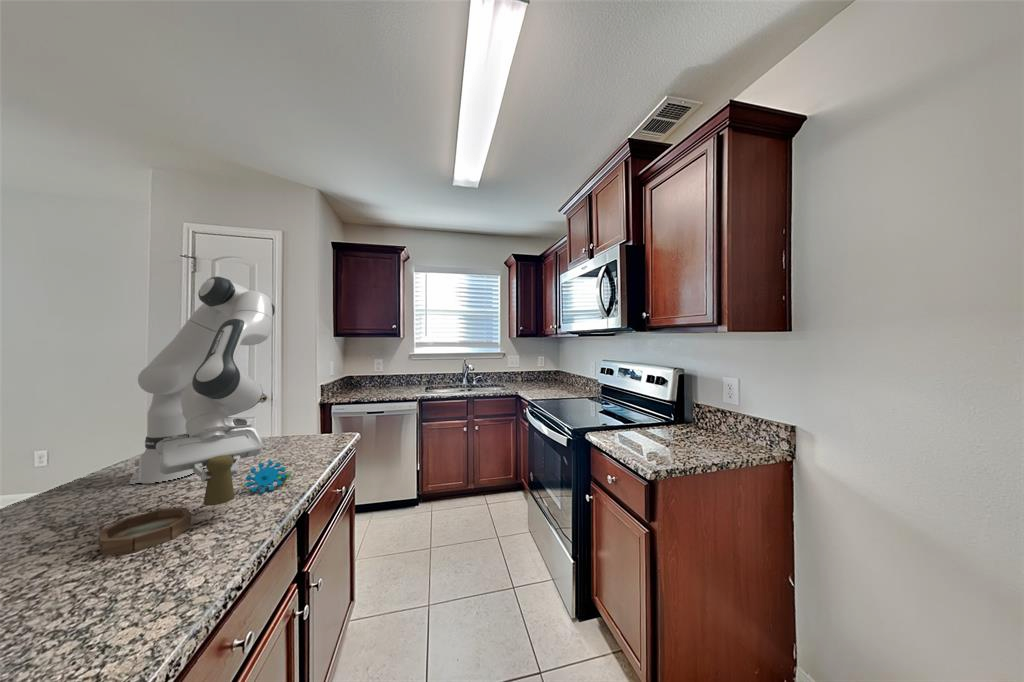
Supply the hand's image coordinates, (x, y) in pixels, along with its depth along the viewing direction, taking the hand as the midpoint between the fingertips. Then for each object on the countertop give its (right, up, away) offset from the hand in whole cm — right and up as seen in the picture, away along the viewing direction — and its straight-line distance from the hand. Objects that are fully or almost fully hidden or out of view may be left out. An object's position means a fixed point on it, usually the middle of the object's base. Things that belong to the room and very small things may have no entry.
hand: (220, 476), depth 86 cm
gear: (-1, -11, +18) cm, 22 cm away
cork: (-1, -6, 0) cm, 6 cm away
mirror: (-11, -11, -7) cm, 17 cm away
